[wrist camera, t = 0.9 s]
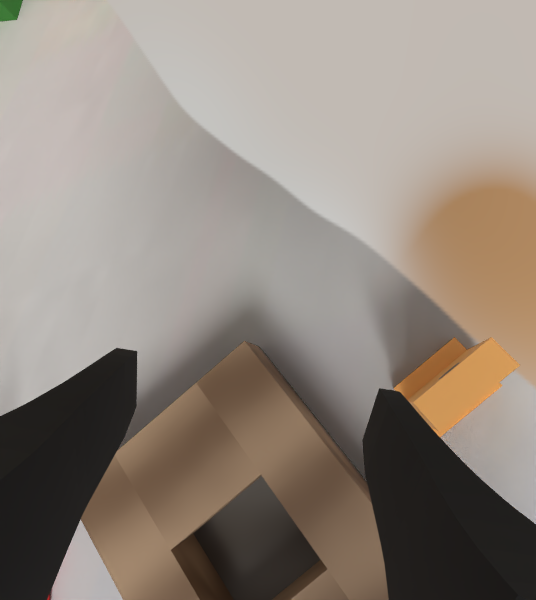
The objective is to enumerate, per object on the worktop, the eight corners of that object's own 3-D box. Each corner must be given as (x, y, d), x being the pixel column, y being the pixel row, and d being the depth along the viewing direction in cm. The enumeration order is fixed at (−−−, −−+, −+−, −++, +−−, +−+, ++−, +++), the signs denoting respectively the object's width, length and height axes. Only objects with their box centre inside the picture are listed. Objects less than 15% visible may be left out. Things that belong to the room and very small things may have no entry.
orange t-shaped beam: (451, 339, 26) (475, 321, 19) (497, 385, 24) (537, 382, 18) (393, 388, 26) (398, 385, 20) (436, 436, 25) (455, 450, 18)
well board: (468, 609, 22) (483, 646, 19) (265, 770, 23) (246, 833, 20) (260, 347, 28) (244, 340, 25) (103, 482, 29) (67, 493, 26)
